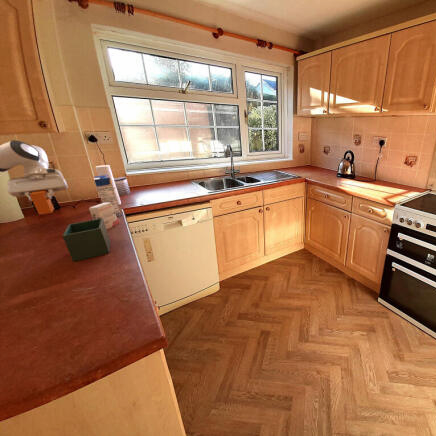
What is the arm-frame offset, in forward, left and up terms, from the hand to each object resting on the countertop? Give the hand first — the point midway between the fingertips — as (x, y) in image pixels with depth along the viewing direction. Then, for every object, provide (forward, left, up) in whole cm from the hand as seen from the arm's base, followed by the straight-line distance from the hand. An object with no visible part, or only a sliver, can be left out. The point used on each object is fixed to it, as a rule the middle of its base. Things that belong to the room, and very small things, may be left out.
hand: (40, 199), depth 114 cm
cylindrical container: (+24, +34, -17) cm, 45 cm away
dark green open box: (+18, -36, -17) cm, 43 cm away
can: (+28, +63, -17) cm, 71 cm away
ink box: (+22, -9, -17) cm, 29 cm away
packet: (0, +1, -6) cm, 6 cm away
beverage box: (+24, +11, -17) cm, 31 cm away
